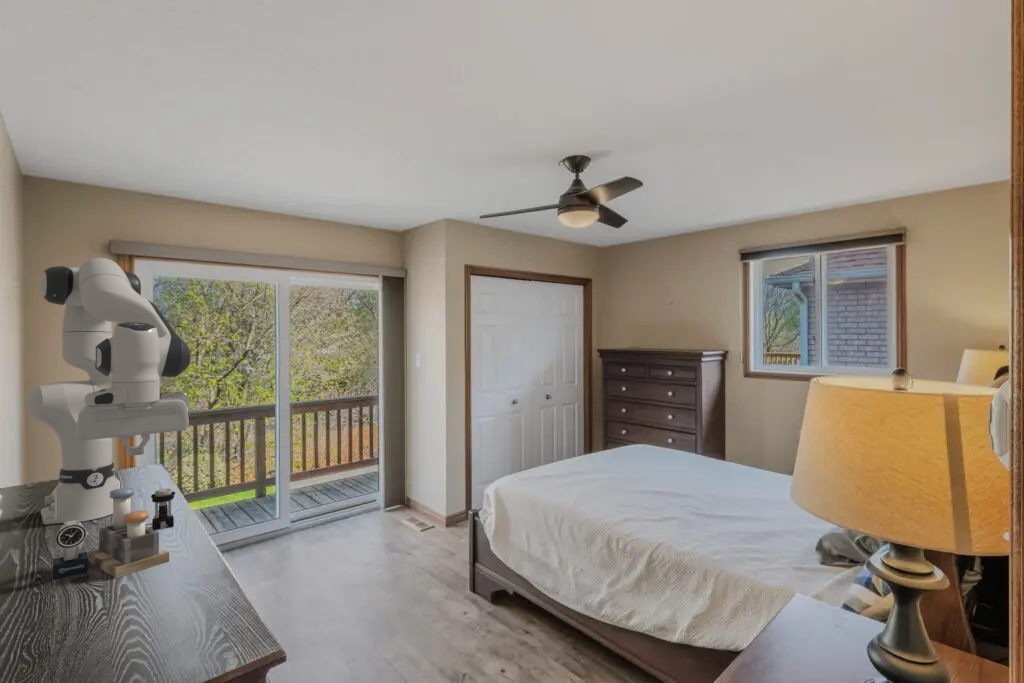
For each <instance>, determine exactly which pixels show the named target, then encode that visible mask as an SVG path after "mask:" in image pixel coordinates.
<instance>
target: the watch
mask: <svg viewBox="0 0 1024 683" xmlns="http://www.w3.org/2000/svg"><path fill="white" fill-rule="evenodd" d="M81 522H82V521H81ZM81 522H78V520H74V521H69V522H64V523H63V525H61V526H60V529H59V531H58V532H57V533H56V536H55V543H56V545H57V547H58V549H59V551H60V553H61V554H63V556H61V557H56V558H53V563H52V564H53V565H52V566H53V567H52V568H53V569H52V571H53V572H52V580H53V581H57V580H60V579H65V578H69V577H74V576H77V575H82V574H85V573H88V572H89V561H88V551H84V552H79V550H82V547H83V545H84V541H85V539H86V537H88V536H90V533H89V531H87V530H86V528H85V527H84V526H83V524H82V523H81Z"/></svg>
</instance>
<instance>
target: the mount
mask: <svg viewBox="0 0 1024 683" xmlns="http://www.w3.org/2000/svg"><path fill="white" fill-rule="evenodd" d="M149 527H150V526H149ZM149 527H148V526H145V535H142V536H138V537H134V538H131V539H127V528H125V529H122V530H118V531H113V524H110V525H106V526H102V527H99V532H98V534H99V535H98V537H99V538H98V539H99V541H98V548H96V549H93V550H89V551H87V554H88V562H90V563H91V564H93V565H95V566H96V567H97V568H99V569H100V570H101V571H104V573H105V572H106V573H107V574H108V575H110V576H111V577H113V578H114V579H119V578H122V577H124V576H129V575H131V574H134V573H137V572H140V571H143V570H147V569H149V568H153V567H155V566H159V565H162V564H164V563H167V562H170V552H169V551H167V550H166V549H163V548H162V547H160V532H159V531H157V530H153V529H152V528H149Z"/></svg>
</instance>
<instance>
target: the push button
mask: <svg viewBox="0 0 1024 683" xmlns="http://www.w3.org/2000/svg"><path fill="white" fill-rule="evenodd" d="M175 495H176V492H175V491H172V489H171V488H161V489H157V490H155V491H154V493H153V494H151V495H150V498H151V501H152V502H153V503H154V515H153V518H152V521H151V523H147V524H146V523H145V527H148V526H149V528H151V529H153V530H155V531H157V530H161V529H167V528H173V527H174V524H175V519H174V518H175V517H174V515H173V513H172V500H173V499H175Z"/></svg>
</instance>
